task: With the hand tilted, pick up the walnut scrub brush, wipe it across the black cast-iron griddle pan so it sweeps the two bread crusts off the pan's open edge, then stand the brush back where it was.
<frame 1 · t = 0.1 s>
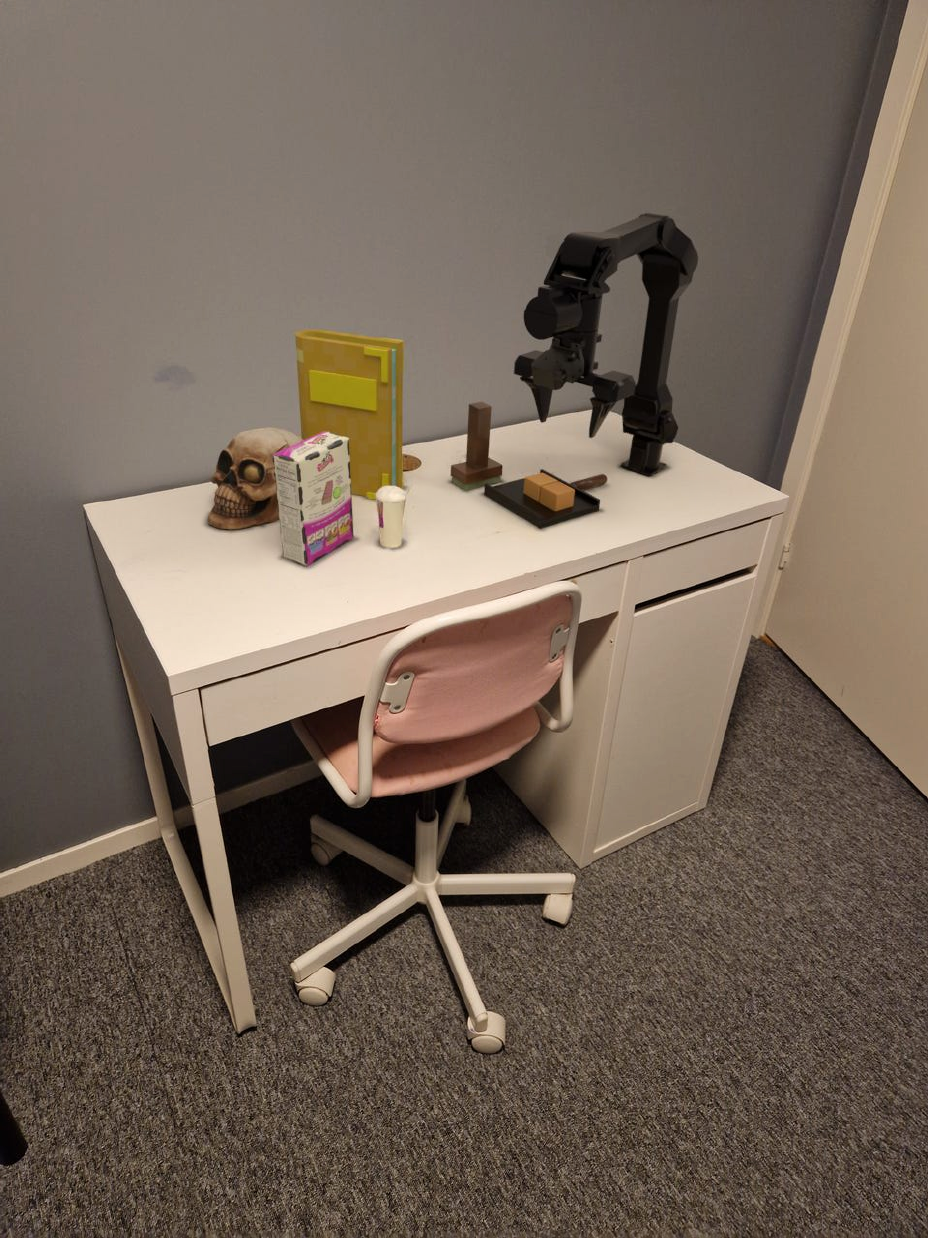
hand: (567, 429, 133), 15 cm above the table, tool pointing down, fingers open, 9 cm apart
book: (350, 486, 147), on the table
scrub brush: (475, 481, 151), on the table
candy bar box: (318, 549, 128), on the table
crust a: (539, 495, 145), point 1 cm above the table, touching griddle
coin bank: (261, 508, 139), on the table
milkshake: (393, 544, 130), on the table
crust b: (556, 504, 142), point 1 cm above the table, touching griddle
griddle: (540, 502, 145), on the table
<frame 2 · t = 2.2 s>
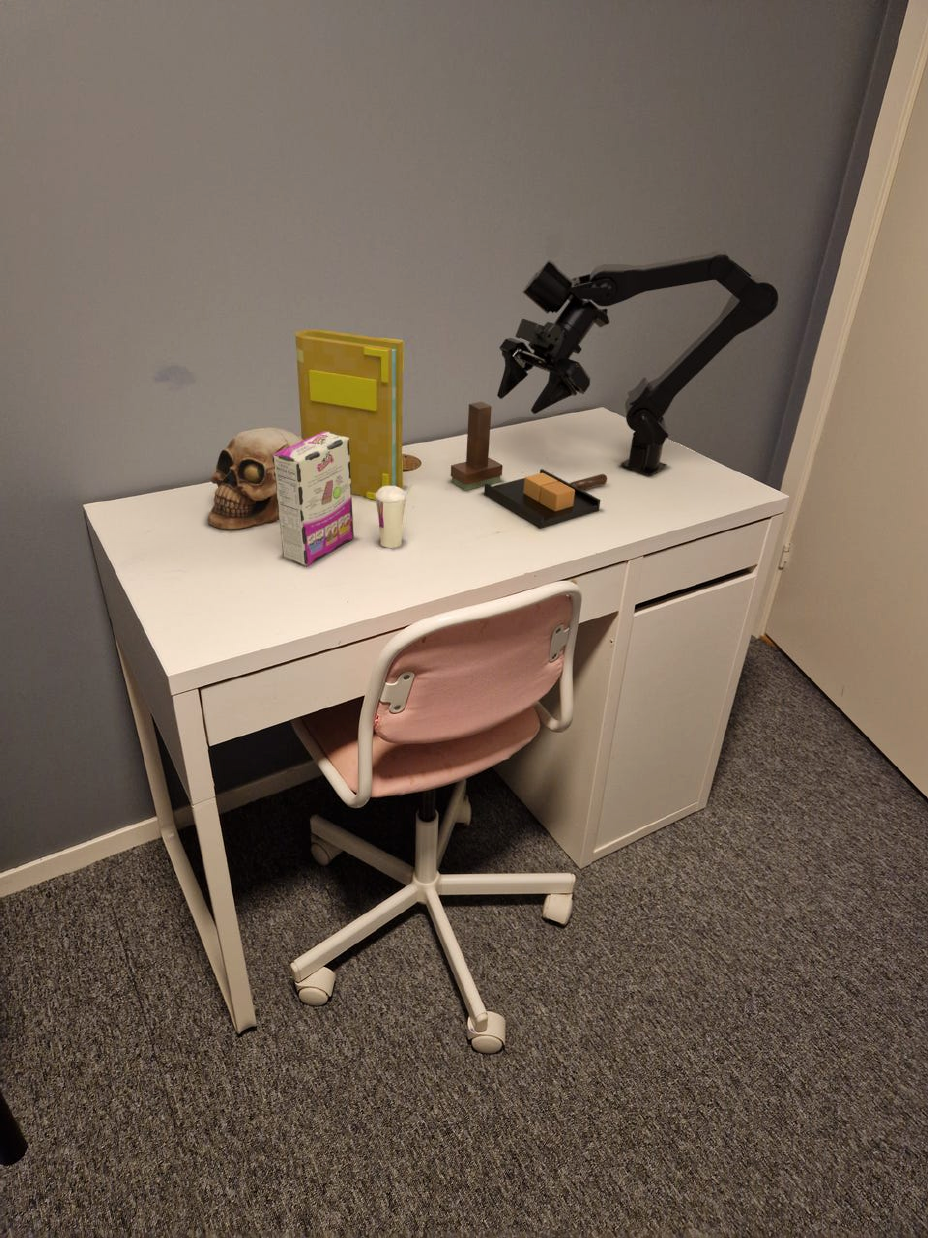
hand: (515, 404, 147), 13 cm above the table, tool tilted 45°, fingers open, 9 cm apart
nothing on the table moved.
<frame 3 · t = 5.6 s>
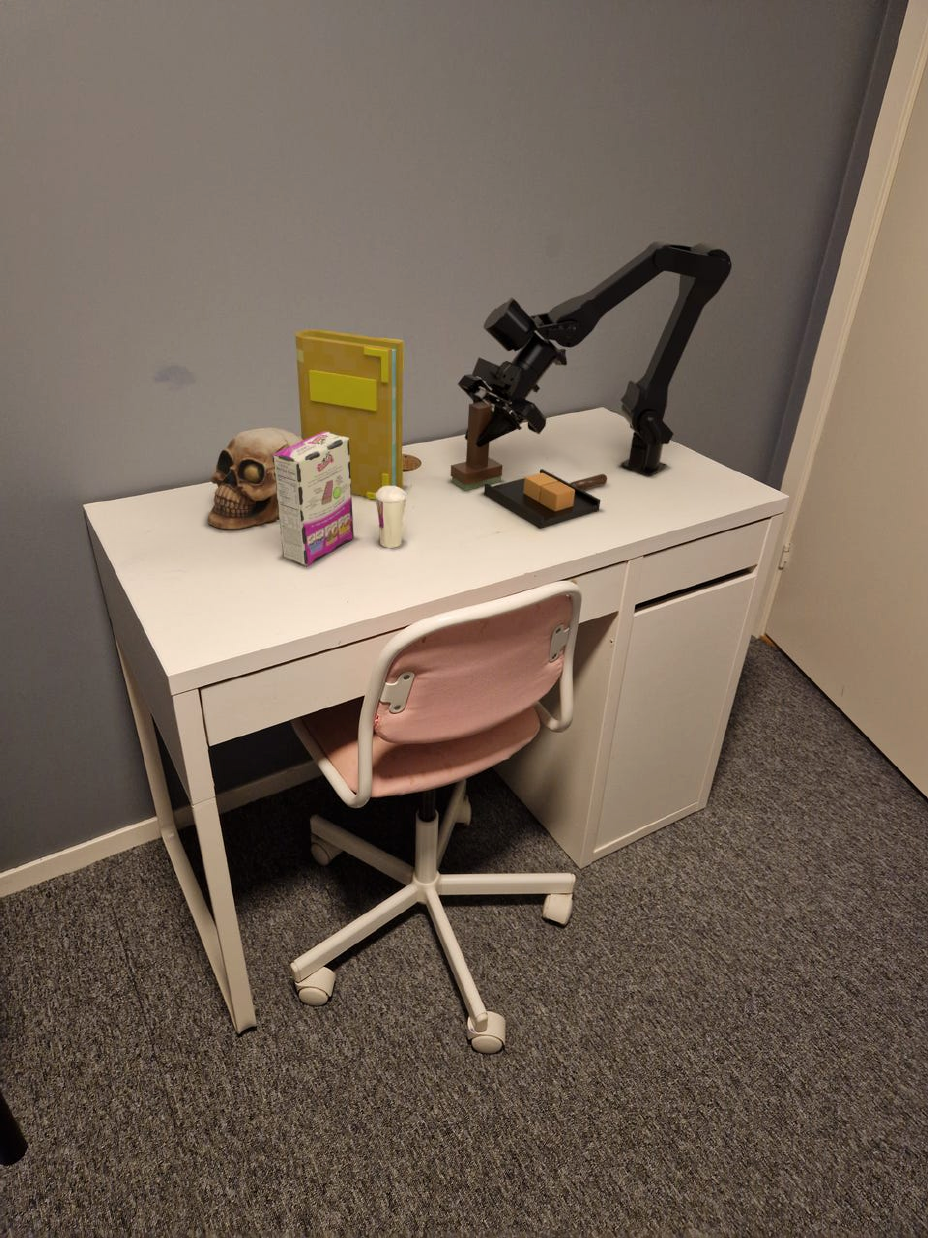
hand: (471, 442, 146), 8 cm above the table, tool tilted 45°, fingers closed on scrub brush, 3 cm apart
scrub brush: (475, 481, 151), on the table, touching gripper
everything else where it was.
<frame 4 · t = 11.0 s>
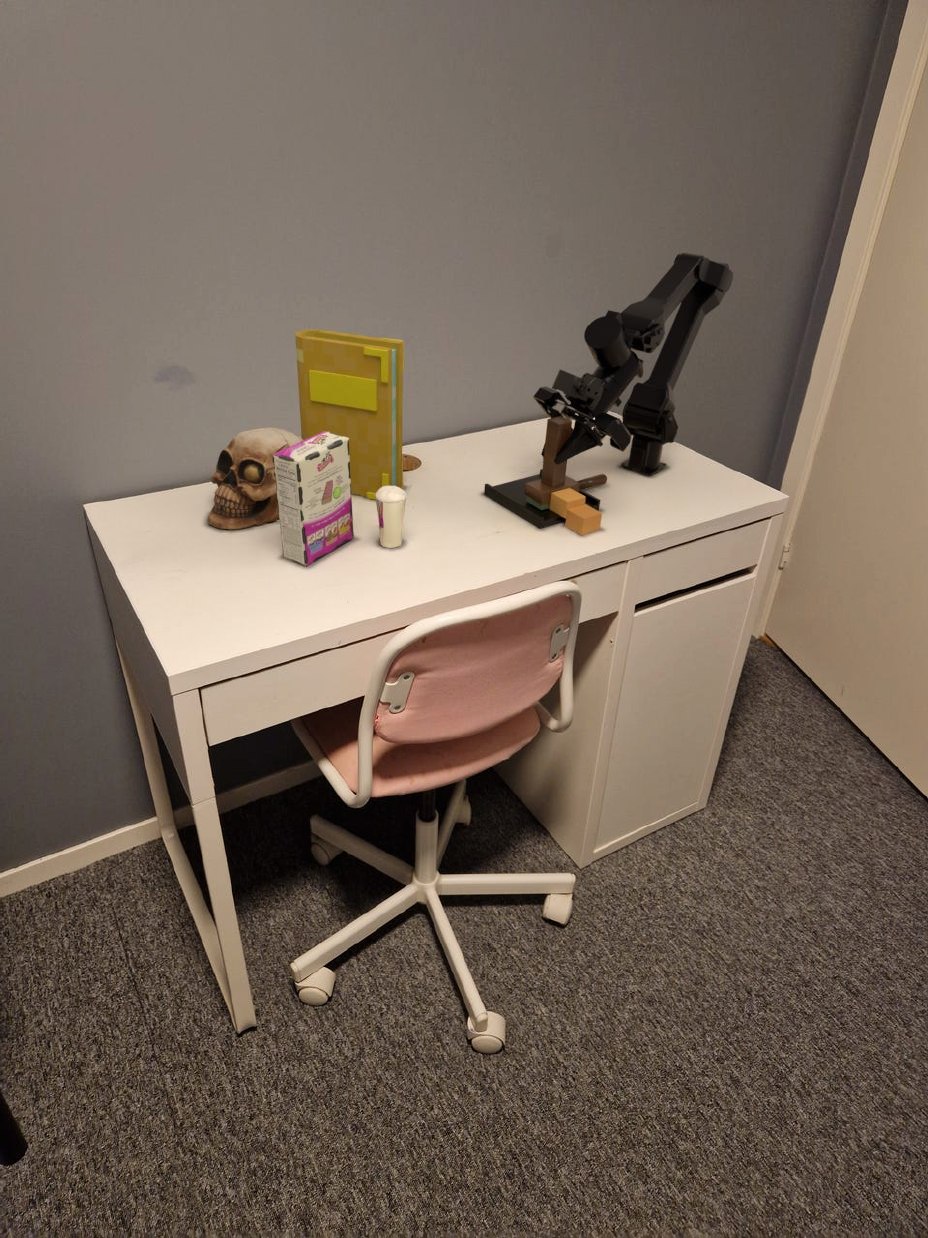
hand: (549, 459, 138), 9 cm above the table, tool tilted 45°, fingers closed on scrub brush, 3 cm apart
scrub brush: (550, 500, 143), point 1 cm above the table, touching crust a, gripper
crust a: (566, 511, 140), point 1 cm above the table, touching scrub brush
crust b: (582, 527, 138), on the table
everything else where it was.
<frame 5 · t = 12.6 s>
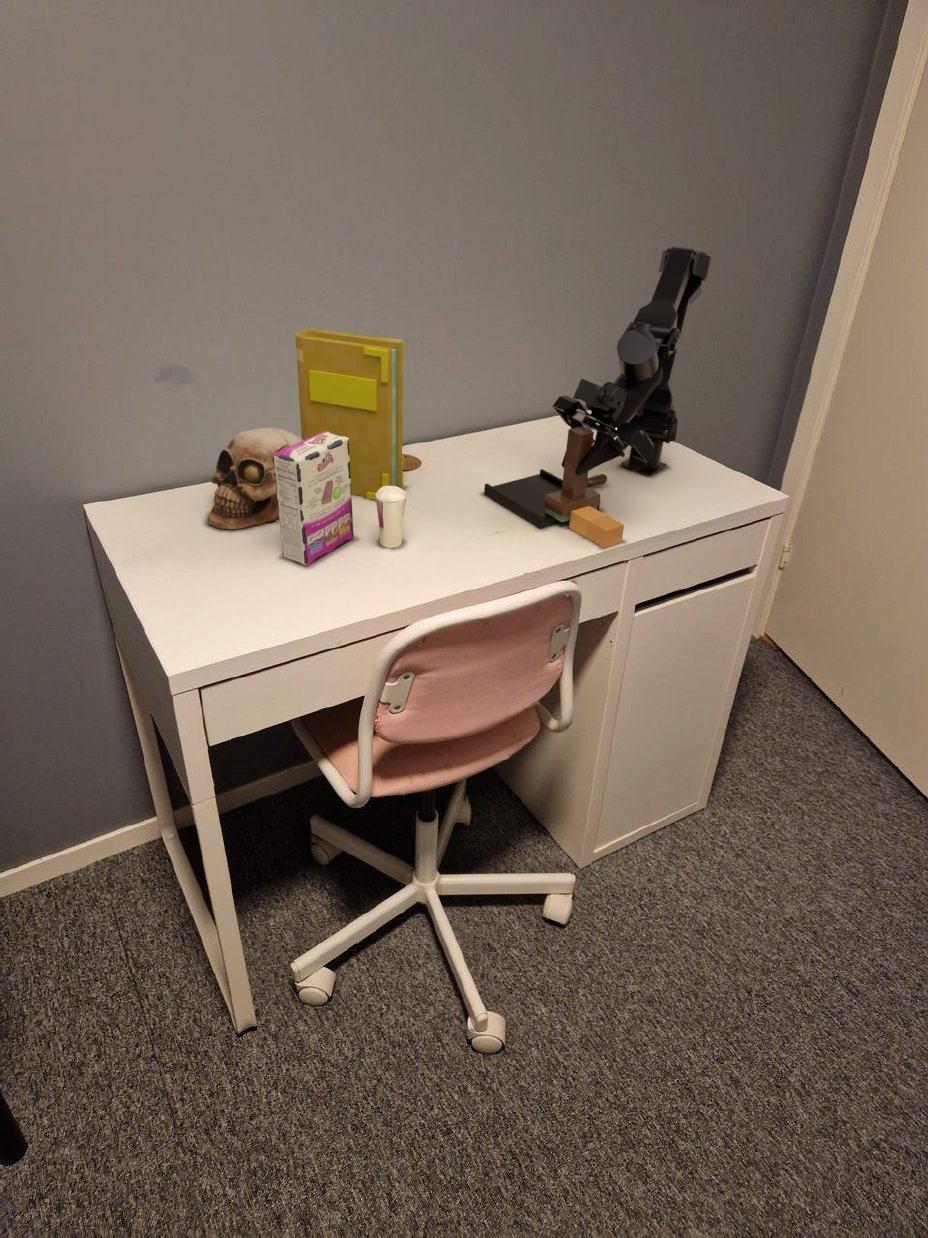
hand: (569, 470, 134), 9 cm above the table, tool tilted 45°, fingers closed on scrub brush, 3 cm apart
scrub brush: (570, 512, 139), point 1 cm above the table, touching crust a, gripper
crust a: (586, 529, 137), on the table, touching crust b, scrub brush
crust b: (603, 539, 134), on the table, touching crust a
everything else where it was.
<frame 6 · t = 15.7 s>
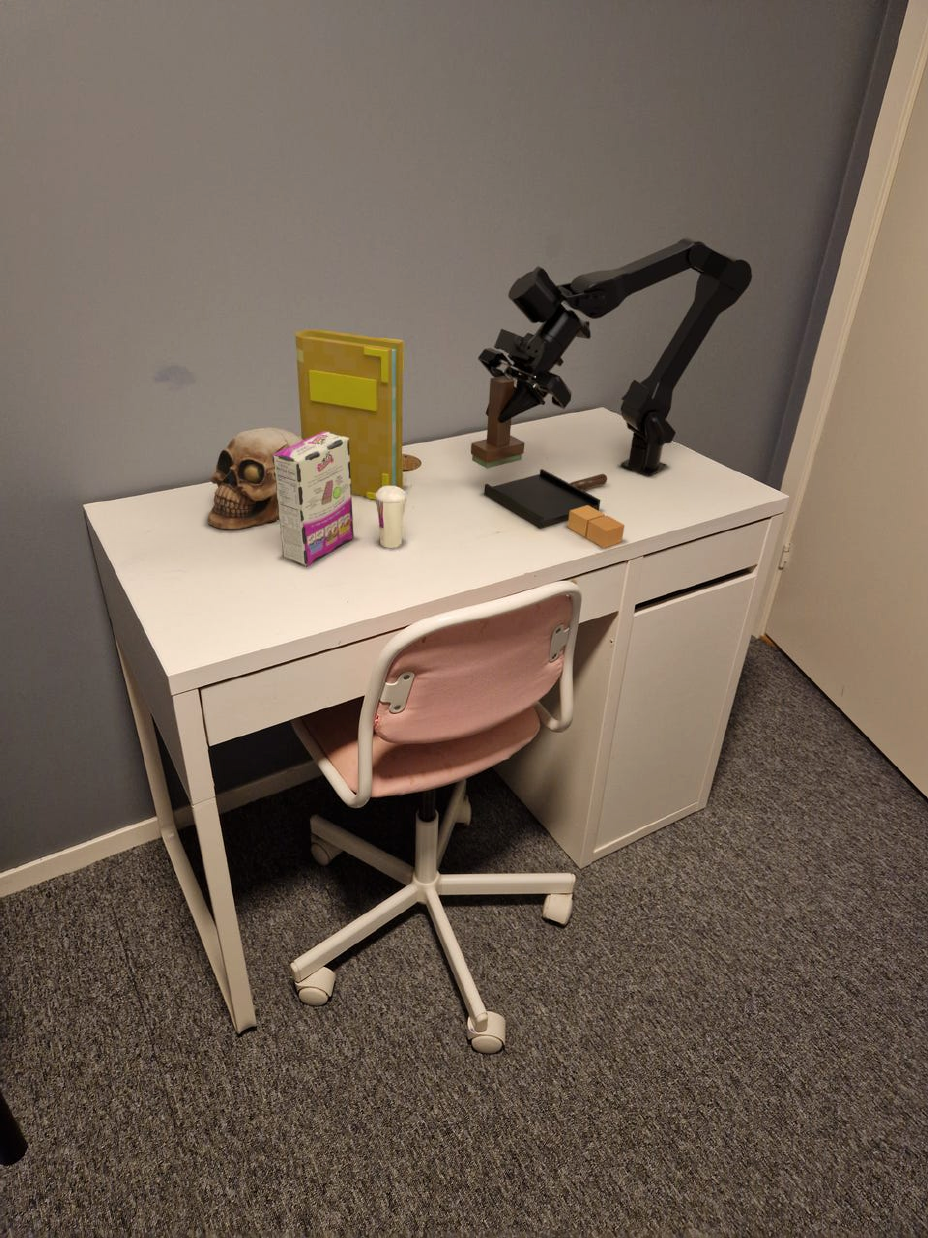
hand: (493, 418, 141), 13 cm above the table, tool tilted 45°, fingers closed on scrub brush, 3 cm apart
scrub brush: (496, 460, 146), point 5 cm above the table, touching gripper
crust a: (585, 529, 137), on the table
crust b: (603, 539, 134), on the table
everything else where it was.
when the fingers open (8 cm above the table, at t = 18.0 s): scrub brush stays where it is, on the table.
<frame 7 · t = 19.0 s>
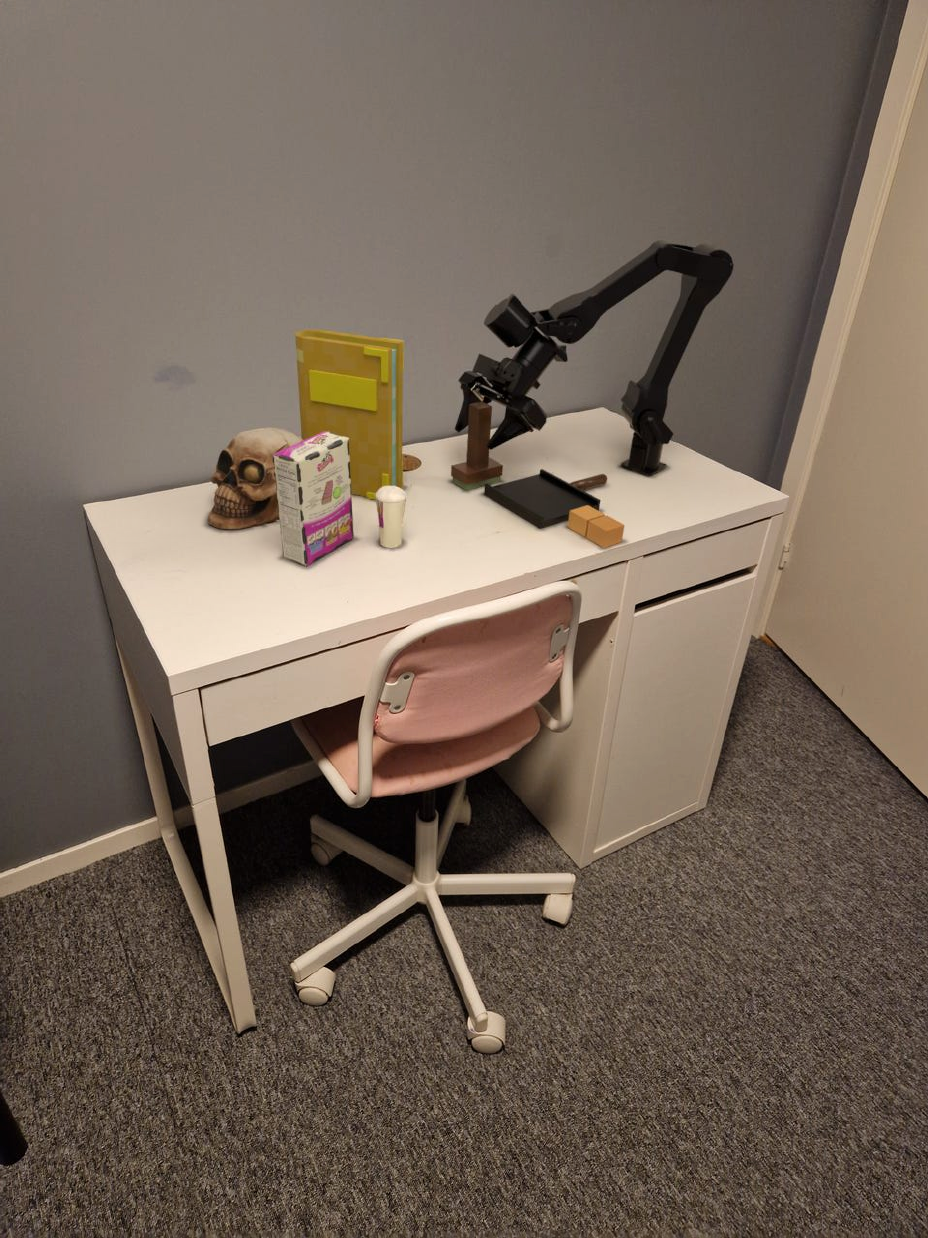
hand: (472, 439, 146), 8 cm above the table, tool tilted 45°, fingers open, 9 cm apart
scrub brush: (476, 481, 151), on the table
everything else where it was.
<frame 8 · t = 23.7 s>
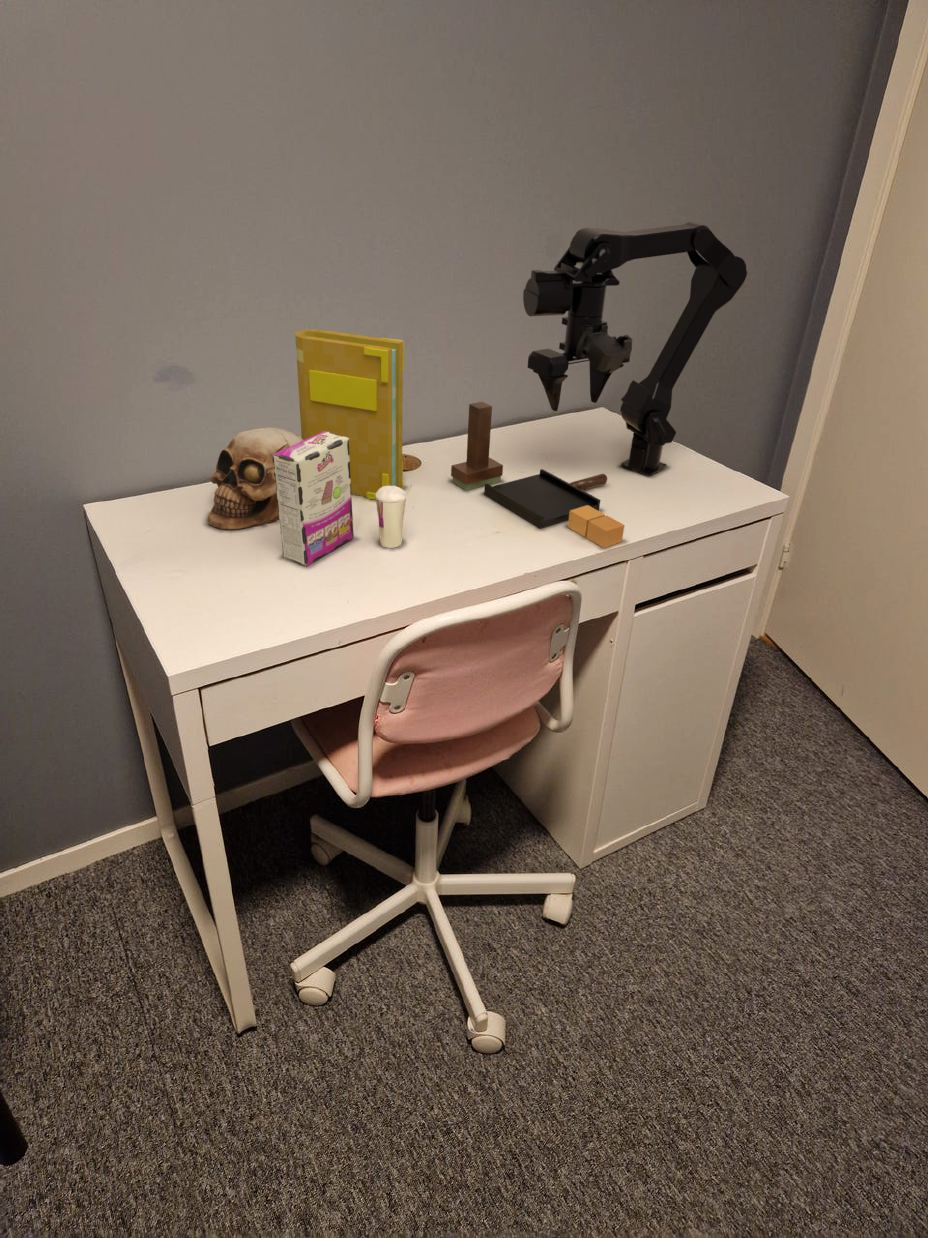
hand: (574, 406, 148), 13 cm above the table, tool pointing down, fingers open, 9 cm apart
nothing on the table moved.
at the end: crust a on the table; crust b on the table; scrub brush tilted 0° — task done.
